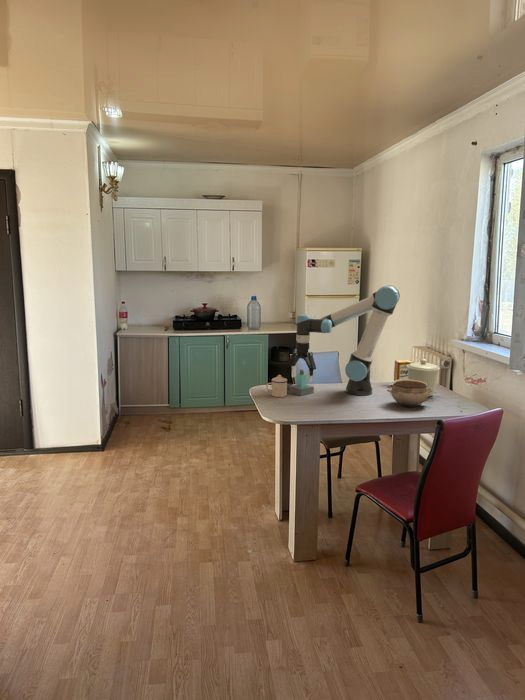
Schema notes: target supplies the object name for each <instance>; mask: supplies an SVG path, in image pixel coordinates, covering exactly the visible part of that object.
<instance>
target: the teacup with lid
mask: <svg viewBox="0 0 525 700" xmlns="http://www.w3.org/2000/svg"><path fill="white" fill-rule="evenodd" d="M270 381H271V382H268V383H266V385H265V388H266V390H267V391H268V392H270V393H271V396H272V397H276V398H284V397H286V396H287V395H288V391H287V384H288V379H287V378H285V377H283V376H282V375H281V374H278V375H277V376H276V377H273V378H272V379H271V380H270ZM269 385H271V389H269V387H268V386H269Z"/></svg>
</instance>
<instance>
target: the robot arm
mask: <svg viewBox="0 0 525 700" xmlns="http://www.w3.org/2000/svg"><path fill="white" fill-rule="evenodd" d="M400 299H401V297H400V291H399V289H398V288H397V287H396V286H393V285H392V284H391V285H389V284H388V285H384V286H382V287H381V286H380V287H379V289H378V290H377V291H375V292H372V293H371V296H368V297H366V298H364V299H361V300H360V301H357V302H355V303H352V304H350V305H348V306H346V307H344V308H341V309H339V310H337V311H335V312H332V313H331V314H328V315H326V316H325V315H324V316H322V317H321V318H319V319H318V318H311V315H310V314H298V315H297V317H296V337H295V339H296V340H295V341H296V343H295V348H294V349H292V353H291V357H290V359H289V361H288V365H290V370H291V378H297V365H296V364H297V363H298V361H299V360H300V359H302V360H303V361H305V363H306V365H307V368H308V370H307V382H312V381H313V375H314V370H317V366H316V363H315V358H314V356H313V355H314V353H313V351H309V350H310V340H311V339H310V337H311V336H310V335H311V333H318V334H319V333H321V334H330V333H331V332H332V329H333V328H334V327H337V326H339V325H342V324H344V323H346V322H348V321H351V320H353V319H356V318H358V317H360V316H362V315H364V314H367V313H369V312H371V311H372V312H371V314H370V317H369V319H368V321H367V324H366V327H365V329H364V331H363V334H362V336H361V339H360V341H359V343H358V345H357V348H356V350H355V351H353V352H352V353H350V356H349V360H348V363H347V364H346V365H345V370H344V372H345V375H346V376H347V378H348V382H347V384H346V387H345V392H346V393H347V394H348V395H353V396H370V395H372V394H373V387H372V384H371V383H372V382H371V366H372V363H373V358H372V355H373V353H374V350H375V348H376V346H377V344H378V341H379V338H380V336H381V334H382V332H383V329H384V328H385V325H386V323H387V320H388V319H389V317H390V316H392V315H393V313H394V312H395V309H396V306H397V304H398V302H399V301H400Z"/></svg>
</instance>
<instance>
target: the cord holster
mask: <svg viewBox="0 0 525 700" xmlns="http://www.w3.org/2000/svg"><path fill="white" fill-rule="evenodd" d="M290 385H295V384H294V383H287V392H289V386H290Z"/></svg>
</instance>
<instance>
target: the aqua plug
mask: <svg viewBox="0 0 525 700" xmlns="http://www.w3.org/2000/svg"><path fill="white" fill-rule="evenodd" d="M307 382H308V373H305V369H299V373H296V384H297V387H300V388H303V387H306V385H308V384H307Z"/></svg>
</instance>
